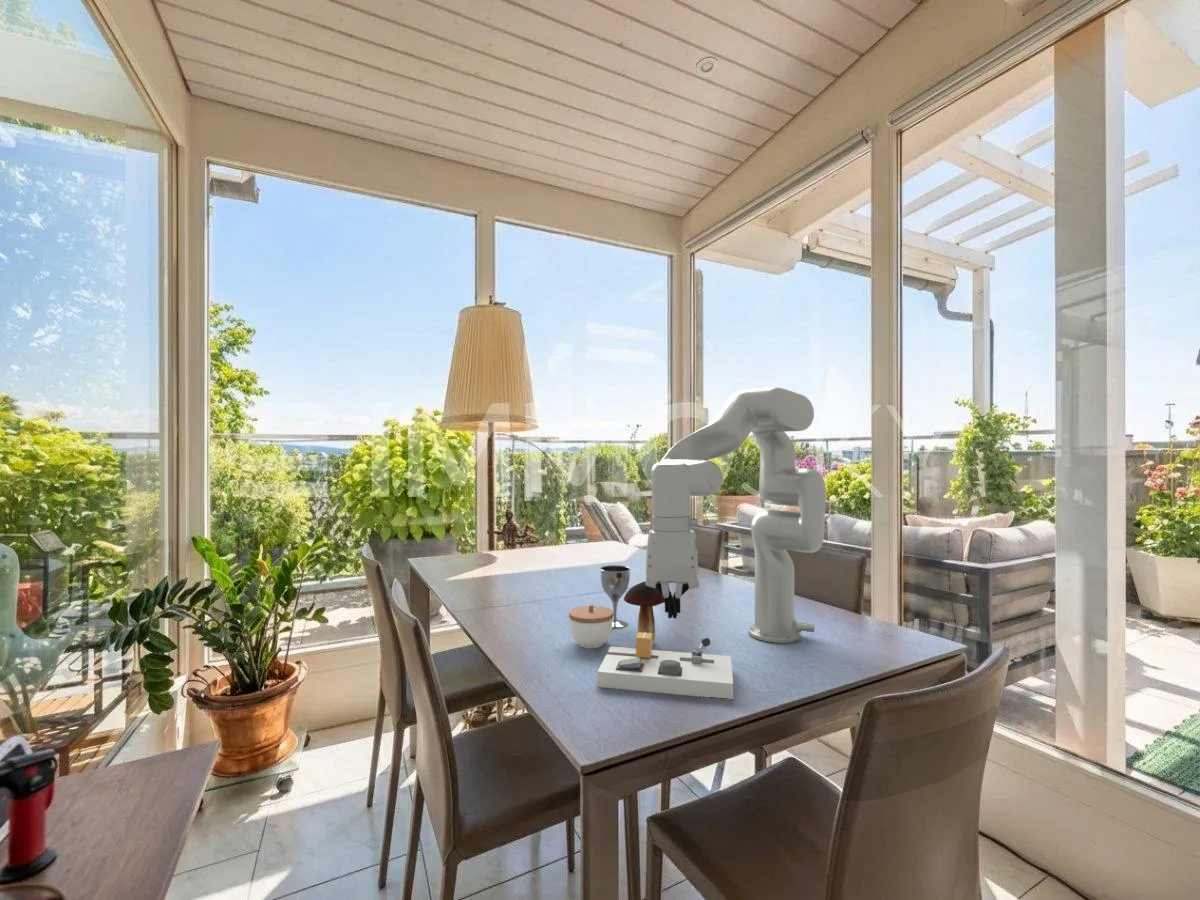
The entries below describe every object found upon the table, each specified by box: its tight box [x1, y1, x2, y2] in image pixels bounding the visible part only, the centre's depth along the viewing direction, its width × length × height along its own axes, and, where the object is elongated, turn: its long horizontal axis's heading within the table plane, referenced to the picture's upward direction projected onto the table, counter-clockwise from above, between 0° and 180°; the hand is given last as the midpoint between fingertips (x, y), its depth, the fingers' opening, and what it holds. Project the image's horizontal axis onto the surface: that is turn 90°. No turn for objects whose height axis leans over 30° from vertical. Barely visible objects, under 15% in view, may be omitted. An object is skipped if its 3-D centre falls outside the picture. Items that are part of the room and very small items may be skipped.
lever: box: [695, 636, 711, 656], centre depth 112 cm, size 2×2×5 cm
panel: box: [596, 646, 734, 700], centre depth 111 cm, size 26×14×5 cm, turn 78°
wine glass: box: [599, 564, 631, 629], centre depth 145 cm, size 8×8×15 cm
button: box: [660, 660, 680, 676], centre depth 107 cm, size 4×4×4 cm
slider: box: [635, 631, 653, 658], centre depth 115 cm, size 3×4×4 cm
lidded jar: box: [568, 604, 614, 649], centre depth 130 cm, size 11×11×9 cm
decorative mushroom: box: [623, 581, 665, 643], centre depth 131 cm, size 11×11×15 cm
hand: (672, 616), depth 108 cm, fingers closed
